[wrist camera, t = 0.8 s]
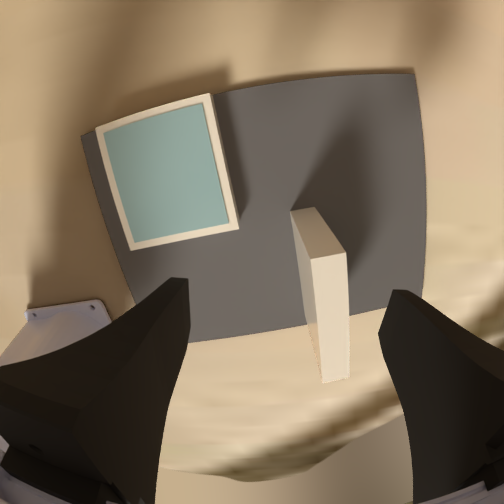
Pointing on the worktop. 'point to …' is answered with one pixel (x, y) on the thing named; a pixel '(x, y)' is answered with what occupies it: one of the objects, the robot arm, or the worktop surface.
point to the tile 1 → (169, 173)
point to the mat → (296, 202)
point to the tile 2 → (323, 292)
